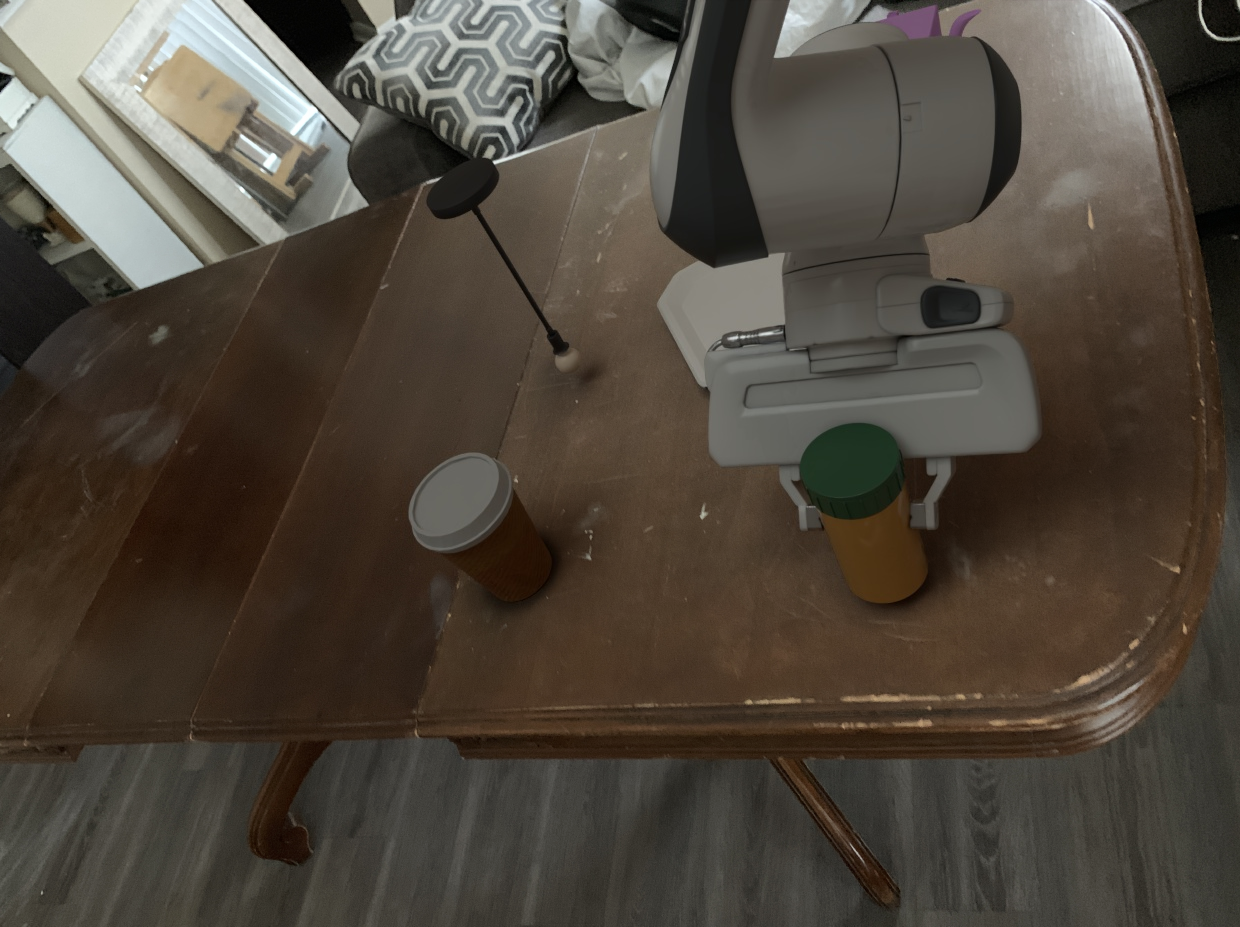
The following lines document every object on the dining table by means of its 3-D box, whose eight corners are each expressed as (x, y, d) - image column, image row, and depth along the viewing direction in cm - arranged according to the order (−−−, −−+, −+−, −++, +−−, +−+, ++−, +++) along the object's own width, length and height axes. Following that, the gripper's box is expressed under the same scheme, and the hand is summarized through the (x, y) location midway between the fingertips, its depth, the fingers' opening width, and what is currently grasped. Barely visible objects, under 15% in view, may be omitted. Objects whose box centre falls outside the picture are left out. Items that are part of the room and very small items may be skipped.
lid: (862, 430, 58) (855, 407, 57) (927, 478, 54) (921, 454, 52) (789, 485, 58) (779, 463, 57) (848, 537, 54) (839, 515, 52)
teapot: (997, 51, 94) (987, -43, 87) (985, 128, 88) (973, 33, 81) (825, 94, 104) (804, 13, 97) (803, 165, 98) (779, 84, 91)
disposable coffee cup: (486, 635, 79) (411, 561, 70) (467, 560, 85) (397, 484, 77) (580, 585, 77) (515, 503, 69) (553, 512, 84) (491, 429, 76)
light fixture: (545, 384, 96) (418, 192, 79) (597, 349, 95) (481, 148, 78) (565, 417, 91) (436, 220, 74) (621, 381, 91) (503, 173, 73)
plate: (936, 309, 77) (932, 289, 75) (716, 420, 81) (709, 404, 80) (836, 203, 91) (831, 185, 90) (654, 303, 96) (646, 287, 94)
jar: (890, 523, 65) (856, 415, 57) (946, 569, 61) (918, 460, 53) (828, 569, 65) (785, 468, 57) (880, 618, 61) (842, 516, 53)
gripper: (684, 335, 60) (701, 539, 62) (1033, 287, 49) (1041, 537, 51) (718, 335, 65) (733, 523, 67) (1040, 292, 54) (1047, 518, 56)
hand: (868, 529), depth 59 cm, fingers closed on jar, 5 cm apart
